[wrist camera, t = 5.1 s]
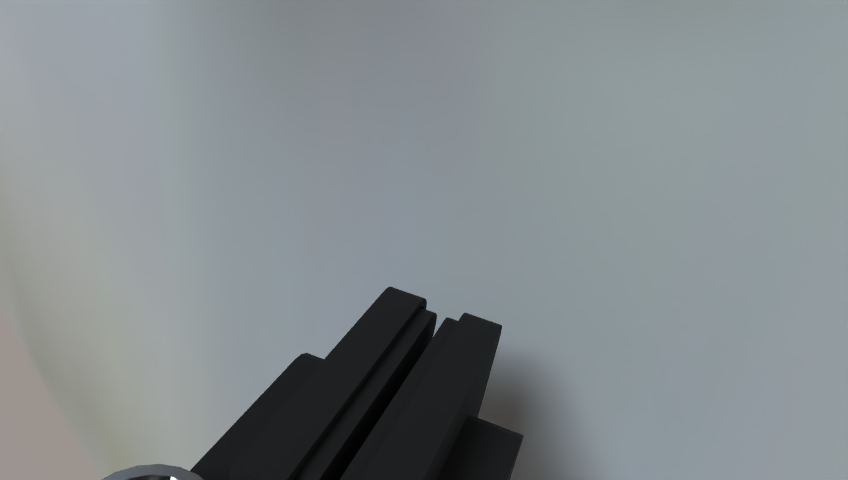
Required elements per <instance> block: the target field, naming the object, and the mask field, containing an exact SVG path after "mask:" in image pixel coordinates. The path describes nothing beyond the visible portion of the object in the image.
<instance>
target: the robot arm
mask: <svg viewBox="0 0 848 480" xmlns="http://www.w3.org/2000/svg"><path fill="white" fill-rule="evenodd" d="M426 304H427V301H426V299H424V298H422V297H419V296H416V295H413V294H410V293H407V292H404V291H401V290H399V289H396V288H393V287H388V288H387V289H386V290H385V291H384V292H383V293H382V294H381V295H380V296H379V297H378V299H377V300H376V301H375V302H374V303H373V304H372V305H371V307H370V308H369V309H368V310H367V311H366V312H365V313H364V315H363V316H362V317H361V318H360V319H359V320H358V321H357V323H356V324H355V325H354V326H353V327H352V328H351V329H350V331H349V332H348V333H347V334H346V335H345V336H344V337H343V338H342V340H341V341H340V342H339V343H338V344H337V345H336V346H335V348H334V349H333V350H332V351H331V352H330V353H329V354H328V356H327V357H326V358H325V359H321V358H319V357H316V356H313V355H311V354H308V353H305V354H301V355H300V356H299V357H298V358H296V359H295V360H294V361H293V362H292V363H291V364H290V365H289V366H288V367H287V369H286V370H285V371H284V372H283V373H282V374H281V375H280V376H279V377H278V378H277V379H276V380H275V381H274V382H273V383H272V384H271V385H270V387H269V388H268V389H267V390H266V391H265V392H264V393H263V394H262V395H261V396H260V397H259V398H258V399H257V400H256V401H255V402H254V403H253V405H252V406H251V407H250V408H249V409H248V410H247V411H246V412H245V413H244V414H243V415H242V416H241V417H240V418H239V419H238V420H237V421H236V423H235V424H234V425H233V426H232V427H231V428H230V429H229V430H228V431H227V432H226V433H225V434H224V435H223V436H222V437H221V438H220V439H219V441H218V442H217V443H216V444H215V445H214V446H213V447H212V448H211V449H210V450H209V451H208V452H207V453H206V454H205V455H204V456H203V457H202V459H201V460H200V461H199V462H198V463H197V464H196V465H195V466H194V467H193V468H192V469H191V470H190V471H188V470H186V469H183V468H181V467H176V466H169V465H163V464H153V465H140V466H134V467H131V468H128V469H124V470H121V471H117V472H115V473H113V474H111V475H109V476H107V477H105V478H104V479H102V480H510V477H511V474H512V471H513V468H514V464H515V461H516V458H517V455H518V452H519V449H520V446H521V442H522V439H523V435H521V434H518V433H516V432H513V431H510V430H508V429H505V428H502V427H500V426H497V425H495V424H492V423H489V422H487V421H484V420H481V419H479V418H478V414H479V410H480V407H481V403H482V400H483V396H484V392H485V389H486V385H487V382H488V378H489V374H490V371H491V367H492V363H493V360H494V356H495V353H496V349H497V345H498V342H499V338H500V334H501V329H502V325H499V324H496V323H493V322H491V321H488V320H485V319H482V318H479V317H476V316H473V315H470V314H468V313H464V314H463V315H462V316H461V318H460V319H459V321H456V320H454V319H451V318H448V317H447V318H446V319H445V320H444V321H443V323H442V325H441V326H440V328H439V329H438V331H437V332H436V334H435V335H434V337H433V333H434V329H435V325H436V319H437V315H436V313H434V312H431V311H428V310H426Z"/></svg>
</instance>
